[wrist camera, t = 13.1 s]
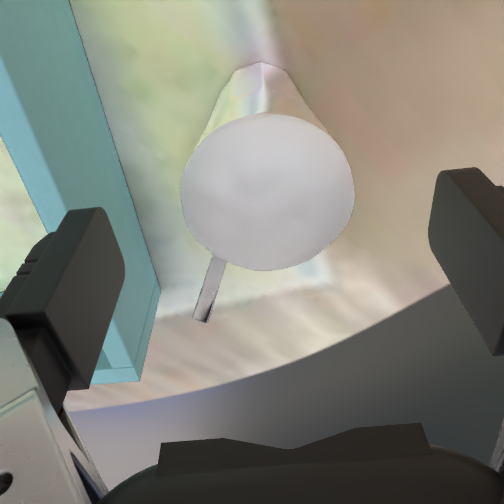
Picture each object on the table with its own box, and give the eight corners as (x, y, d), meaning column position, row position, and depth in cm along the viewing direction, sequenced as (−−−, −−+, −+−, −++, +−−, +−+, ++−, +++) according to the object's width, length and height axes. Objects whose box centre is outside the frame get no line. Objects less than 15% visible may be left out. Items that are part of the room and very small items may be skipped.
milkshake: (174, 130, 18) (118, 283, 10) (247, 16, 16) (247, 103, 8) (259, 185, 20) (267, 354, 12) (337, 90, 17) (414, 225, 9)
